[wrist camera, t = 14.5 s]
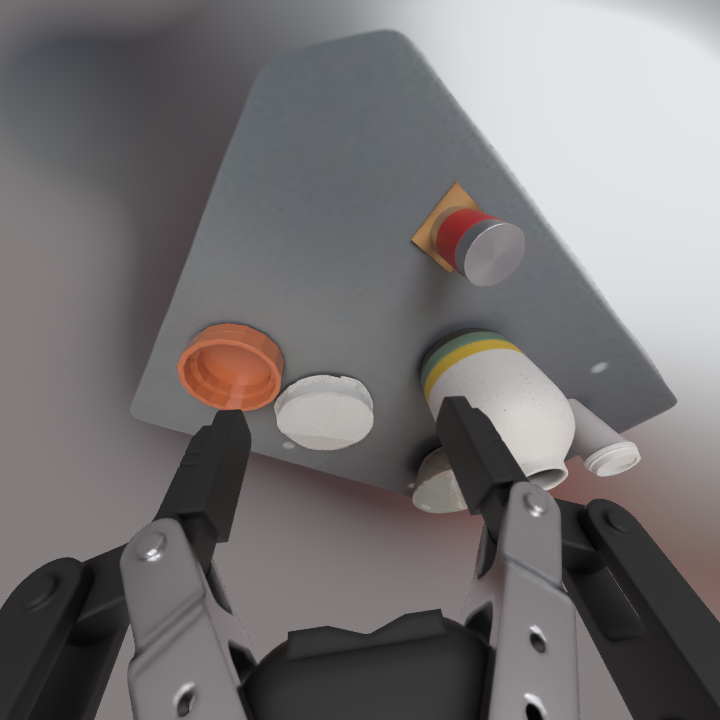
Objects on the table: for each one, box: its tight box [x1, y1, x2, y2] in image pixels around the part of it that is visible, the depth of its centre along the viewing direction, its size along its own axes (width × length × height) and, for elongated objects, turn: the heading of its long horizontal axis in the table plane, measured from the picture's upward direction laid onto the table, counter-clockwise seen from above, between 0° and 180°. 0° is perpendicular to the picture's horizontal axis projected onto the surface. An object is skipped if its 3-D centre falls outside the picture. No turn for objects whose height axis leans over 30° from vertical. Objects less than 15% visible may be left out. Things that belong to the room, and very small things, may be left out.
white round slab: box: [274, 375, 374, 451], centre depth 51 cm, size 20×20×7 cm
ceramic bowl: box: [412, 446, 468, 513], centre depth 66 cm, size 22×23×10 cm
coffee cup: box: [567, 399, 641, 476], centre depth 57 cm, size 10×10×15 cm
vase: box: [420, 328, 575, 491], centre depth 40 cm, size 17×17×24 cm
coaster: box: [411, 182, 485, 273], centre depth 35 cm, size 8×8×1 cm
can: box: [430, 206, 526, 287], centre depth 31 cm, size 6×6×11 cm
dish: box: [177, 323, 284, 412], centre depth 42 cm, size 15×15×5 cm
